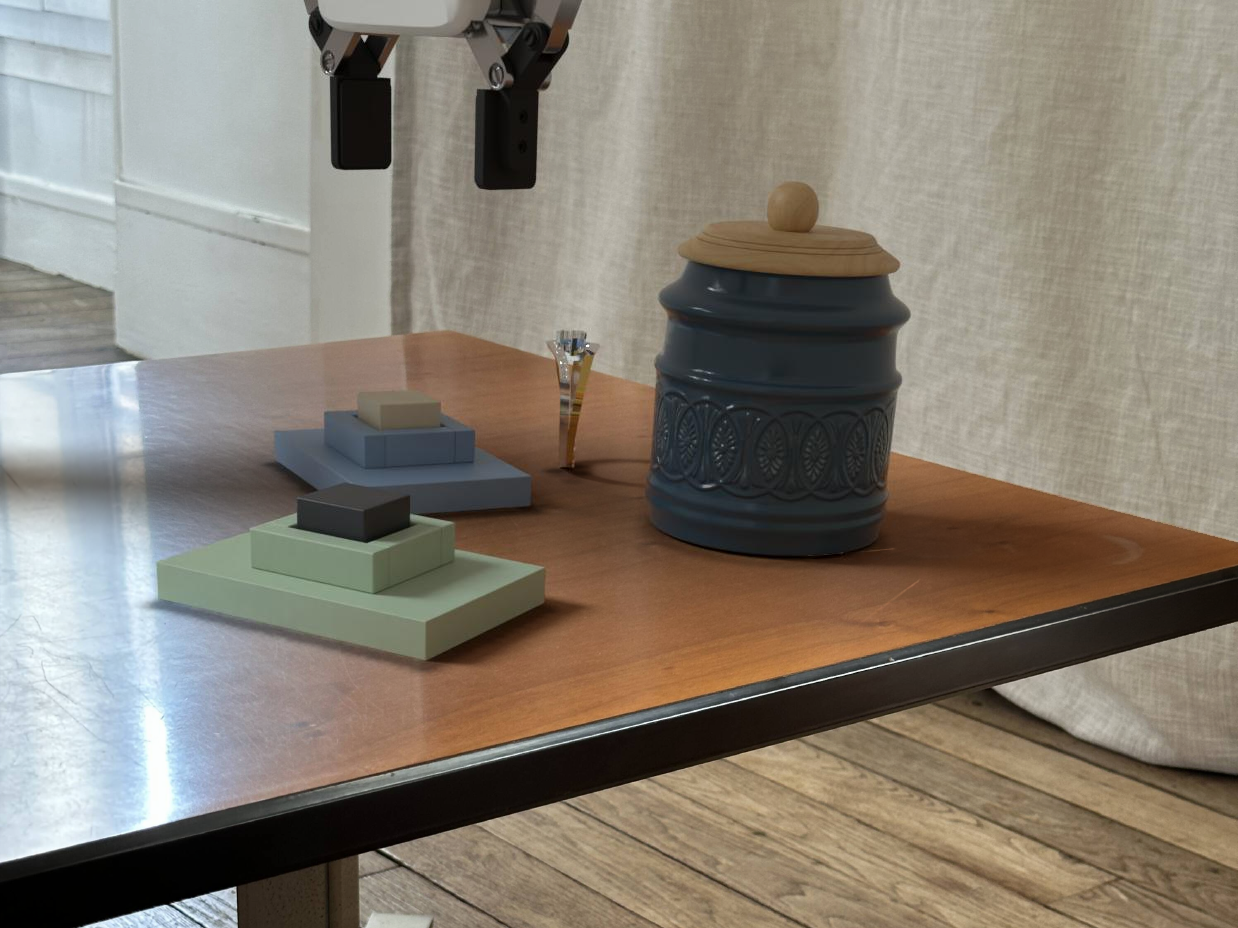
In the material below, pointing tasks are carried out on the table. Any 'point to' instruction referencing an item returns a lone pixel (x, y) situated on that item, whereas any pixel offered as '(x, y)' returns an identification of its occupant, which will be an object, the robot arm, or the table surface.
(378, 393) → the key
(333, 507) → the key
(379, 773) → the table surface
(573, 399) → the ring
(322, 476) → the blue stepped base
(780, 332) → the canister
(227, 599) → the stepped pedestal base
